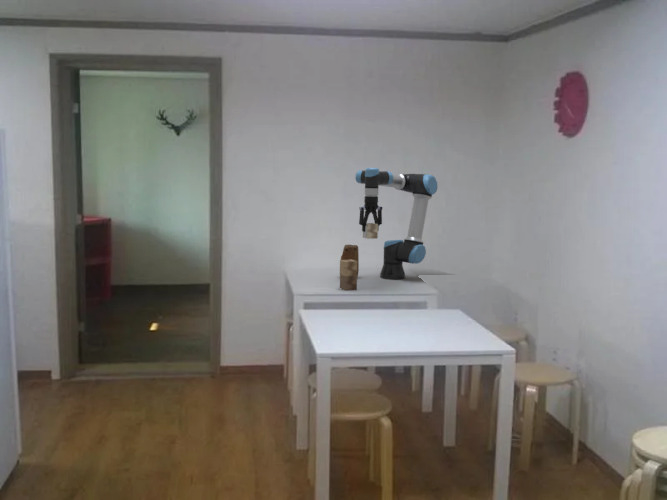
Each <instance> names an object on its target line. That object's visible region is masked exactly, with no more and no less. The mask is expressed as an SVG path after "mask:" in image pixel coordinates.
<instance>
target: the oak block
mask: <svg viewBox="0 0 667 500" xmlns="http://www.w3.org/2000/svg"><path fill="white" fill-rule="evenodd" d="M340 275H343V276H357V261H355V260H341V259H340V260H339V276H340Z"/></svg>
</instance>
